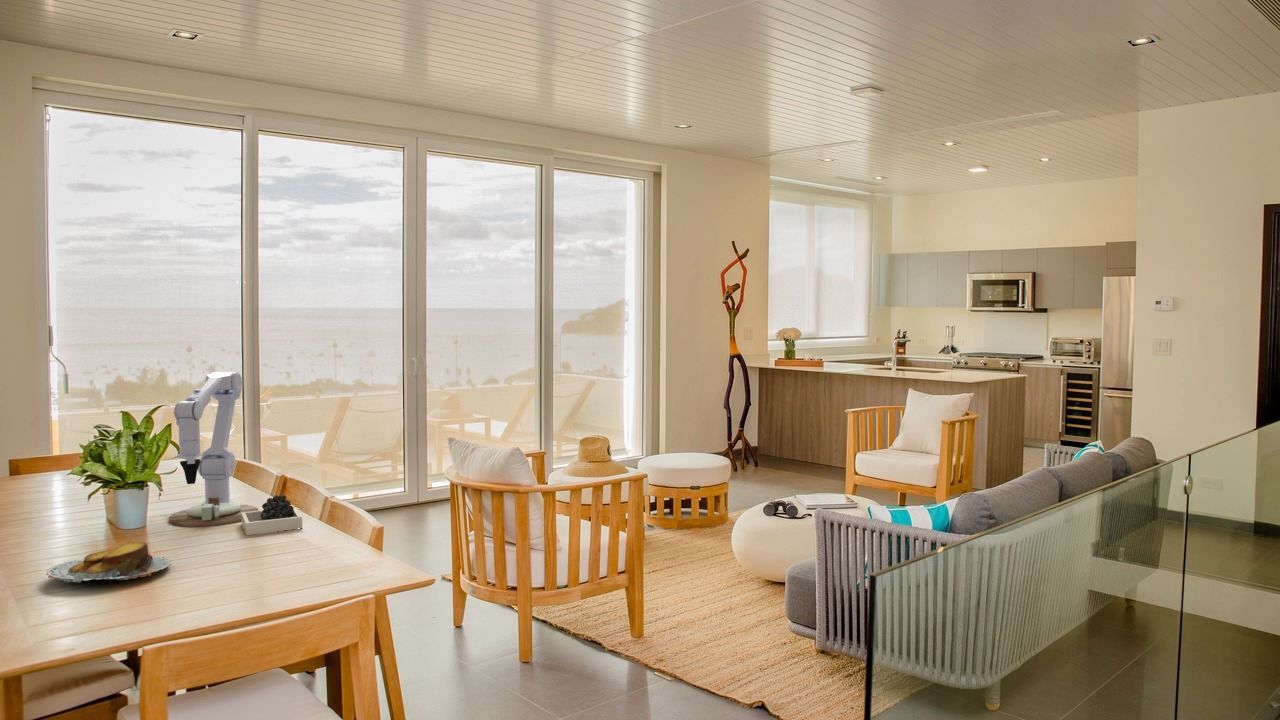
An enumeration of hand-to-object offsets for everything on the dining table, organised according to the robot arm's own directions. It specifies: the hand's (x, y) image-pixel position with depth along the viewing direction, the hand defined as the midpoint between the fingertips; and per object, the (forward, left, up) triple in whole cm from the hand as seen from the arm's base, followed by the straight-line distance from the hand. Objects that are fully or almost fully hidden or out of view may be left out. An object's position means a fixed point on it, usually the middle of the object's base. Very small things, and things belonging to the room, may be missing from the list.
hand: (191, 483), depth 271 cm
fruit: (+25, +20, -11) cm, 34 cm away
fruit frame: (+25, +20, -10) cm, 34 cm away
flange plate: (+5, +5, -9) cm, 12 cm away
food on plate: (+57, -20, -11) cm, 61 cm away
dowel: (+12, +6, -10) cm, 17 cm away
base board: (+3, +6, -10) cm, 12 cm away
